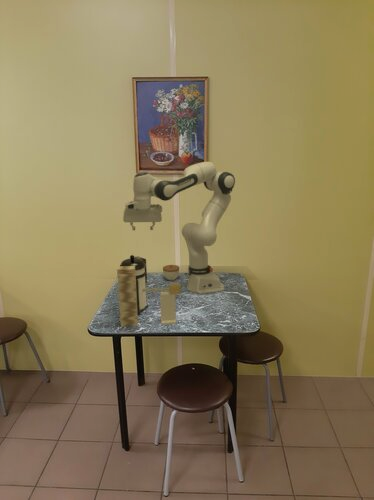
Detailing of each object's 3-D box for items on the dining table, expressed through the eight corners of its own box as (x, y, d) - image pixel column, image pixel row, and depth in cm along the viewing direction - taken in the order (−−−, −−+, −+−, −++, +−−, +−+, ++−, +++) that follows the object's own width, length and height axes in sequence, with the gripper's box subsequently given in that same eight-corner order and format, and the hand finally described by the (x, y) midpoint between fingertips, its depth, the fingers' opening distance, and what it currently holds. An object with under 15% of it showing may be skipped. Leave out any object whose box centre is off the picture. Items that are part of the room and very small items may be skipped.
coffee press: (116, 306, 192) (112, 253, 183) (145, 301, 197) (142, 249, 189) (122, 320, 176) (118, 263, 168) (153, 315, 181) (151, 259, 173)
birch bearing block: (137, 319, 177) (134, 265, 169) (137, 325, 171) (134, 269, 163) (121, 320, 176) (117, 266, 168) (120, 326, 170) (117, 270, 162)
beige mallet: (179, 290, 174) (179, 282, 173) (180, 293, 170) (180, 286, 169) (142, 292, 172) (141, 284, 171) (142, 295, 168) (141, 288, 167)
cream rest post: (174, 316, 180) (174, 289, 176) (176, 324, 172) (175, 295, 168) (160, 317, 179) (160, 290, 175) (161, 324, 171) (160, 296, 167)
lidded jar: (182, 277, 232) (182, 264, 229) (173, 283, 223) (172, 268, 221) (169, 274, 238) (169, 261, 235) (159, 279, 229) (159, 265, 227)
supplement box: (133, 281, 227) (131, 257, 222) (139, 279, 230) (138, 255, 226) (141, 284, 221) (140, 260, 216) (147, 282, 224) (146, 258, 220)
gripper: (161, 203, 191) (161, 228, 195) (123, 203, 188) (123, 228, 192) (162, 205, 185) (162, 231, 189) (122, 205, 182) (123, 231, 186)
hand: (142, 230), depth 190 cm, fingers open, 8 cm apart
